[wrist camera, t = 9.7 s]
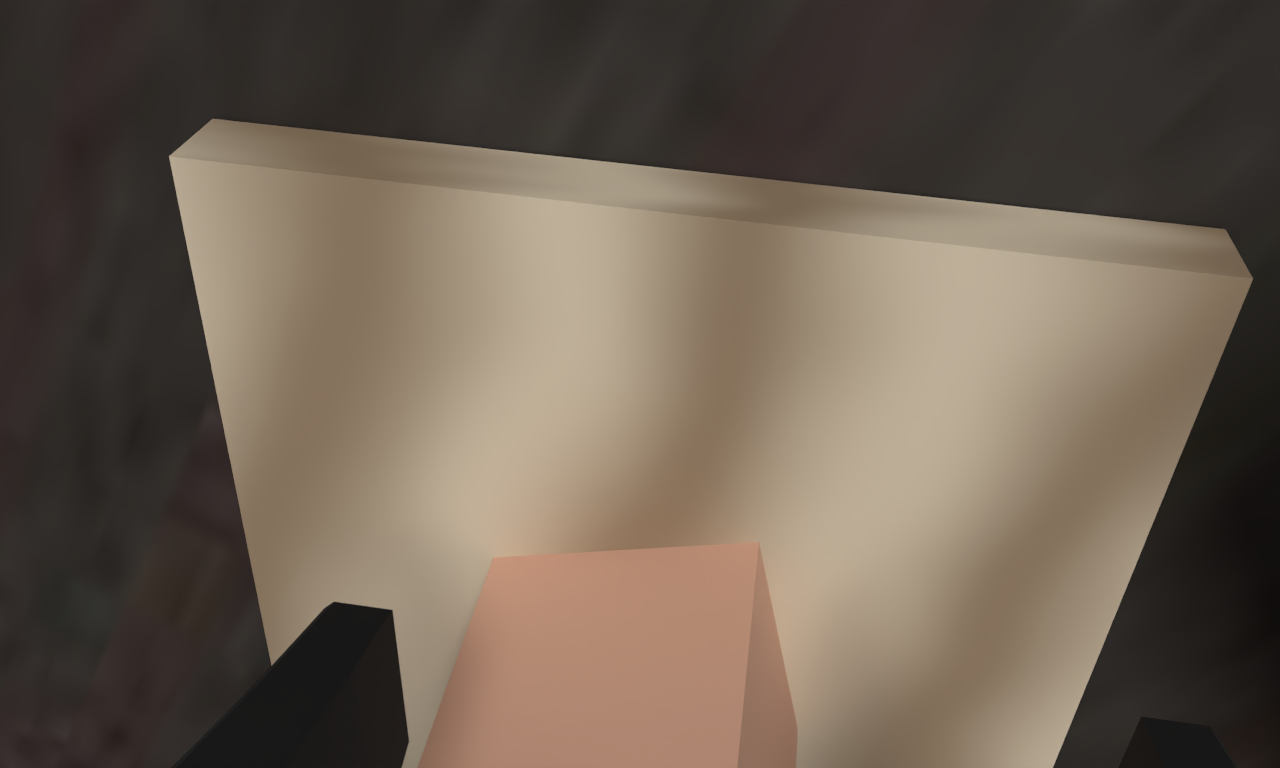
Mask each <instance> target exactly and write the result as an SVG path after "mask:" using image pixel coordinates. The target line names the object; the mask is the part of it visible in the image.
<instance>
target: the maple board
mask: <svg viewBox="0 0 1280 768" xmlns="http://www.w3.org/2000/svg"><path fill="white" fill-rule="evenodd" d="M169 158H170V163H171V168H172V173H173V178H174V183H175V188H176V193H177V198H178V203H179V208H180V213H181V218H182V223H183V228H184V233H185V238H186V243H187V248H188V253H189V258H190V263H191V268H192V273H193V278H194V283H195V288H196V293H197V298H198V303H199V307H200V312H201V317H202V322H203V327H204V332H205V337H206V342H207V347H208V352H209V357H210V362H211V367H212V372H213V377H214V382H215V387H216V392H217V397H218V402H219V407H220V412H221V417H222V422H223V427H224V432H225V437H226V442H227V447H228V451H229V456H230V461H231V466H232V471H233V476H234V481H235V486H236V491H237V496H238V501H239V506H240V511H241V516H242V521H243V526H244V531H245V536H246V541H247V546H248V551H249V556H250V561H251V566H252V571H253V576H254V581H255V586H256V591H257V596H258V600H259V605H260V610H261V615H262V620H263V625H264V630H265V635H266V640H267V645H268V650H269V655H270V660H271V665H273V664H274V663H275V662H276V660H277V659H278V658H279V657H280V656H281V655H282V654H283V653H284V652H285V651H286V650H287V649H288V647H289V646H290V645H291V644H292V643H293V642H294V641H295V640H296V639H297V638H298V637H299V635H300V634H301V633H302V632H303V631H304V630H305V629H306V628H307V627H308V626H309V624H310V623H311V622H312V621H313V620H314V619H315V618H316V617H317V616H318V615H319V613H320V612H321V611H322V610H323V609H324V608H325V607H327V606H328V605H330V604H331V603H333V602H340V603H348V604H355V605H362V606H369V607H376V608H383V609H390V610H393V618H394V626H395V634H396V642H397V650H398V658H399V665H400V673H401V681H402V689H403V697H404V705H405V713H406V721H407V728H408V736H409V744H408V747H407V751H406V754H405V758H404V761H403V765H402V768H417V767H418V764H419V762H420V759H421V756H422V753H423V751H424V748H425V745H426V742H427V740H428V737H429V734H430V731H431V728H432V726H433V723H434V720H435V717H436V715H437V712H438V709H439V706H440V704H441V701H442V698H443V695H444V693H445V690H446V687H447V684H448V682H449V679H450V676H451V673H452V671H453V668H454V665H455V662H456V659H457V657H458V654H459V651H460V648H461V646H462V643H463V640H464V637H465V635H466V632H467V629H468V626H469V624H470V621H471V618H472V615H473V613H474V610H475V607H476V604H477V602H478V599H479V596H480V593H481V590H482V588H483V585H484V582H485V579H486V577H487V574H488V571H489V568H490V566H491V563H492V560H493V557H510V556H527V555H545V554H562V553H579V552H597V551H614V550H631V549H649V548H666V547H683V546H701V545H718V544H735V543H752V542H759V544H760V549H761V554H762V559H763V564H764V569H765V573H766V578H767V583H768V588H769V593H770V597H771V602H772V607H773V612H774V617H775V621H776V626H777V631H778V636H779V641H780V646H781V650H782V655H783V660H784V665H785V670H786V674H787V679H788V684H789V689H790V694H791V698H792V703H793V708H794V713H795V718H796V723H797V727H798V735H797V756H796V768H1053V766H1054V763H1055V761H1056V758H1057V756H1058V753H1059V751H1060V749H1061V746H1062V744H1063V741H1064V739H1065V736H1066V734H1067V732H1068V729H1069V727H1070V724H1071V722H1072V719H1073V717H1074V714H1075V712H1076V710H1077V707H1078V705H1079V702H1080V700H1081V697H1082V695H1083V692H1084V690H1085V688H1086V685H1087V683H1088V680H1089V678H1090V675H1091V673H1092V671H1093V668H1094V666H1095V663H1096V661H1097V658H1098V656H1099V653H1100V651H1101V649H1102V646H1103V644H1104V641H1105V639H1106V636H1107V634H1108V631H1109V629H1110V627H1111V624H1112V622H1113V619H1114V617H1115V614H1116V612H1117V609H1118V607H1119V605H1120V602H1121V600H1122V597H1123V595H1124V592H1125V590H1126V588H1127V585H1128V583H1129V580H1130V578H1131V575H1132V573H1133V570H1134V568H1135V566H1136V563H1137V561H1138V558H1139V556H1140V553H1141V551H1142V548H1143V546H1144V544H1145V541H1146V539H1147V536H1148V534H1149V531H1150V529H1151V527H1152V524H1153V522H1154V519H1155V517H1156V514H1157V512H1158V509H1159V507H1160V505H1161V502H1162V500H1163V497H1164V495H1165V492H1166V490H1167V487H1168V485H1169V483H1170V480H1171V478H1172V475H1173V473H1174V470H1175V468H1176V466H1177V463H1178V461H1179V458H1180V456H1181V453H1182V451H1183V448H1184V446H1185V444H1186V441H1187V439H1188V436H1189V434H1190V431H1191V429H1192V426H1193V424H1194V422H1195V419H1196V417H1197V414H1198V412H1199V409H1200V407H1201V404H1202V402H1203V400H1204V397H1205V395H1206V392H1207V390H1208V387H1209V385H1210V383H1211V380H1212V378H1213V375H1214V373H1215V370H1216V368H1217V365H1218V363H1219V361H1220V358H1221V356H1222V353H1223V351H1224V348H1225V346H1226V343H1227V341H1228V339H1229V336H1230V334H1231V331H1232V329H1233V326H1234V324H1235V322H1236V319H1237V317H1238V314H1239V312H1240V309H1241V307H1242V304H1243V302H1244V300H1245V297H1246V295H1247V292H1248V290H1249V287H1250V285H1251V282H1252V280H1253V278H1252V276H1251V274H1250V272H1249V271H1248V269H1247V267H1246V265H1245V263H1244V262H1243V260H1242V258H1241V256H1240V255H1239V253H1238V251H1237V249H1236V247H1235V246H1234V244H1233V242H1232V240H1231V238H1230V237H1229V235H1228V233H1227V231H1226V230H1225V229H1218V228H1209V227H1199V226H1190V225H1181V224H1172V223H1163V222H1154V221H1144V220H1135V219H1126V218H1117V217H1108V216H1099V215H1090V214H1080V213H1071V212H1062V211H1053V210H1044V209H1035V208H1025V207H1016V206H1007V205H998V204H989V203H980V202H970V201H961V200H952V199H943V198H934V197H925V196H916V195H906V194H897V193H888V192H879V191H870V190H861V189H851V188H842V187H833V186H824V185H815V184H806V183H796V182H787V181H778V180H769V179H760V178H751V177H742V176H732V175H723V174H714V173H705V172H696V171H687V170H677V169H668V168H659V167H650V166H641V165H632V164H623V163H613V162H604V161H595V160H586V159H577V158H568V157H558V156H549V155H540V154H531V153H522V152H513V151H503V150H494V149H485V148H476V147H467V146H458V145H449V144H439V143H430V142H421V141H412V140H403V139H394V138H384V137H375V136H366V135H357V134H348V133H339V132H329V131H320V130H311V129H302V128H293V127H284V126H275V125H265V124H256V123H247V122H238V121H229V120H220V119H212V120H211V121H210V122H208V123H207V124H206V125H205V126H204V127H203V128H201V129H200V130H199V131H198V132H197V133H196V134H195V135H193V136H192V137H191V138H190V139H189V140H188V141H186V142H185V143H184V144H183V145H182V146H181V147H179V148H178V149H177V150H176V151H175V152H174V153H173V154H171V155H170V156H169Z"/></svg>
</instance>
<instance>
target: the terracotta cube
mask: <svg viewBox="0 0 1280 768" xmlns="http://www.w3.org/2000/svg"><path fill="white" fill-rule="evenodd" d="M797 735H798V727H797V723H796V718H795V713H794V708H793V703H792V698H791V694H790V689H789V684H788V679H787V674H786V670H785V665H784V660H783V655H782V650H781V646H780V641H779V636H778V631H777V626H776V621H775V617H774V612H773V607H772V602H771V597H770V593H769V588H768V583H767V578H766V573H765V569H764V564H763V559H762V554H761V549H760V544H759V542H752V543H735V544H718V545H701V546H683V547H666V548H649V549H631V550H614V551H597V552H579V553H562V554H545V555H527V556H510V557H493V560H492V563H491V566H490V568H489V571H488V574H487V577H486V579H485V582H484V585H483V588H482V590H481V593H480V596H479V599H478V602H477V604H476V607H475V610H474V613H473V615H472V618H471V621H470V624H469V626H468V629H467V632H466V635H465V637H464V640H463V643H462V646H461V648H460V651H459V654H458V657H457V659H456V662H455V665H454V668H453V671H452V673H451V676H450V679H449V682H448V684H447V687H446V690H445V693H444V695H443V698H442V701H441V704H440V706H439V709H438V712H437V715H436V717H435V720H434V723H433V726H432V728H431V731H430V734H429V737H428V740H427V742H426V745H425V748H424V751H423V753H422V756H421V759H420V762H419V764H418V767H417V768H796V756H797Z"/></svg>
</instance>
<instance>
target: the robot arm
mask: <svg viewBox="0 0 1280 768" xmlns="http://www.w3.org/2000/svg"><path fill="white" fill-rule="evenodd" d="M408 744H409V736H408V728H407V721H406V713H405V705H404V697H403V689H402V681H401V673H400V665H399V658H398V650H397V642H396V634H395V626H394V618H393V610H390V609H383V608H376V607H369V606H362V605H355V604H348V603H340V602H333V603H331V604H330V605H328V606H327V607H325V608H324V609H323V610H322V611H321V612H320V613H319V615H318V616H317V617H316V618H315V619H314V620H313V621H312V622H311V623H310V624H309V626H308V627H307V628H306V629H305V630H304V631H303V632H302V633H301V634H300V635H299V637H298V638H297V639H296V640H295V641H294V642H293V643H292V644H291V645H290V646H289V647H288V649H287V650H286V651H285V652H284V653H283V654H282V655H281V656H280V657H279V658H278V659H277V660H276V662H275V663H274V664H273V665H272V666H271V667H270V668H269V669H268V670H267V671H266V672H265V673H264V674H263V675H262V676H261V678H260V679H259V680H258V681H257V682H256V683H255V684H254V685H253V686H252V687H251V688H250V689H249V690H248V691H247V692H246V693H245V694H244V695H243V696H242V697H241V698H240V700H239V701H238V702H237V703H236V704H235V705H234V706H233V707H232V708H231V709H230V710H229V711H228V712H227V713H226V714H225V715H224V716H223V717H222V718H221V719H220V720H219V721H218V722H217V723H216V724H215V725H214V726H213V727H212V728H211V729H210V730H209V731H208V732H207V733H206V734H205V735H204V736H203V737H202V738H201V739H200V740H199V741H198V742H197V743H196V744H195V745H194V746H193V747H192V748H191V749H190V750H189V751H188V752H187V753H186V754H185V755H184V756H183V757H182V758H181V759H180V760H179V761H178V762H177V763H176V764H175V765H174V766H173V767H172V768H402V765H403V761H404V758H405V754H406V751H407V747H408ZM1119 768H1237V766H1236V764H1235V763H1234V761H1233V760H1232V758H1231V757H1230V755H1229V753H1228V752H1227V750H1226V749H1225V747H1224V746H1223V744H1222V742H1221V741H1220V739H1219V738H1218V736H1217V735H1216V734H1215V732H1214V731H1213V730H1212V729H1211V727H1210V726H1203V725H1196V724H1189V723H1182V722H1175V721H1168V720H1161V719H1154V718H1147V717H1141V719H1140V721H1139V723H1138V726H1137V728H1136V730H1135V732H1134V735H1133V737H1132V739H1131V741H1130V744H1129V746H1128V748H1127V750H1126V753H1125V755H1124V757H1123V760H1122V762H1121V764H1120V766H1119Z"/></svg>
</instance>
